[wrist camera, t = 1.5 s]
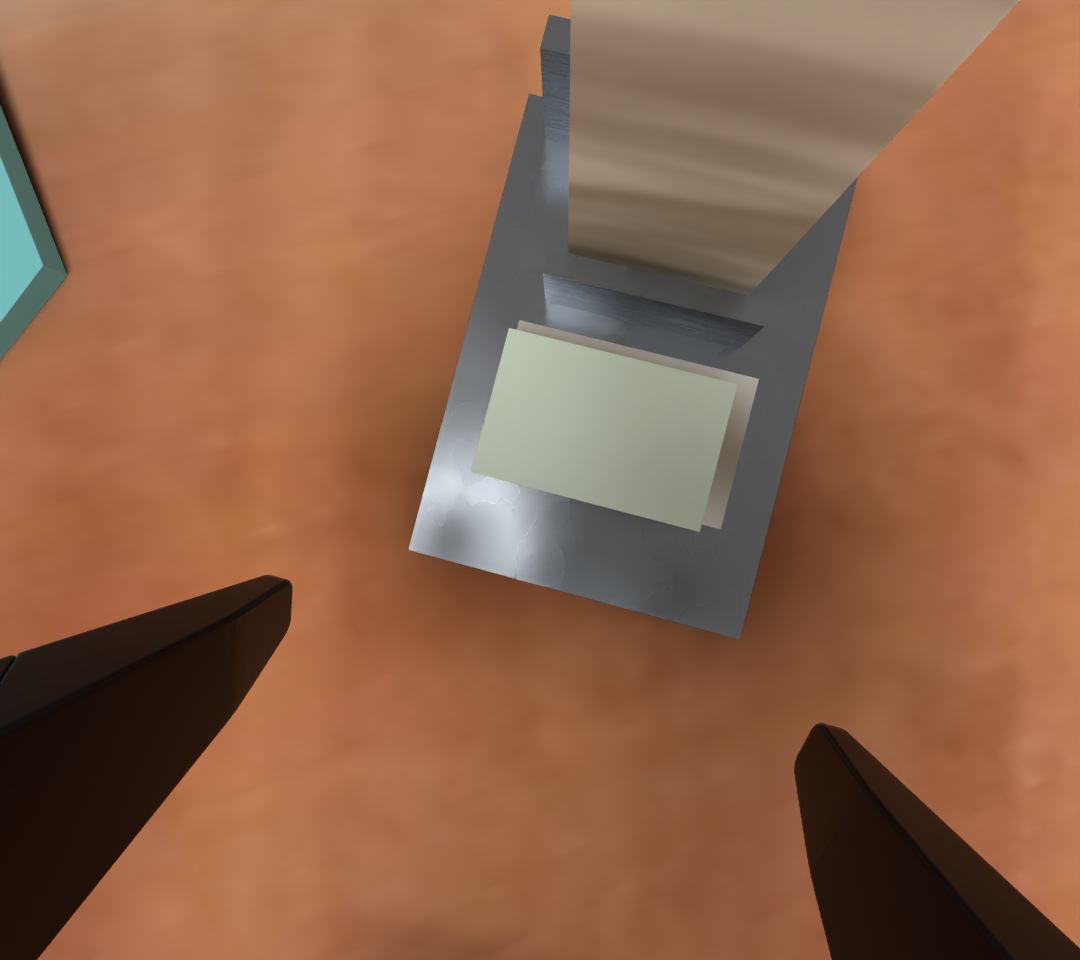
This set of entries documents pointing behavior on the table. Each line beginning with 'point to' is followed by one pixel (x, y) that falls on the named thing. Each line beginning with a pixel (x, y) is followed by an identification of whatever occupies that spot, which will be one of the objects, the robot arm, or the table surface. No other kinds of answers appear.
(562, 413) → the offcut upper
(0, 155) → the plaque
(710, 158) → the birch block
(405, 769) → the table surface
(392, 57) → the table surface
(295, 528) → the table surface
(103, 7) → the table surface
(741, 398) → the offcut lower
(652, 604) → the offcut rack
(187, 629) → the robot arm
